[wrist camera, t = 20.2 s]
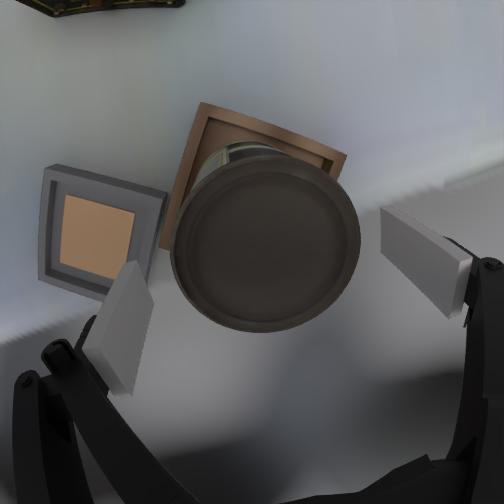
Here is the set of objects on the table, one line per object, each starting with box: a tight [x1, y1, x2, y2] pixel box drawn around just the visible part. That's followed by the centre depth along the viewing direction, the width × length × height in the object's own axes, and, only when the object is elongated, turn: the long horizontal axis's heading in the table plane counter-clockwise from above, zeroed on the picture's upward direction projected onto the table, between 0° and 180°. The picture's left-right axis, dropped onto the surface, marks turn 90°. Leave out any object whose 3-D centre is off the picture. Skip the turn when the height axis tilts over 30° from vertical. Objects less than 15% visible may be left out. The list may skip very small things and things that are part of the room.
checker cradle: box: [38, 164, 167, 302], centre depth 28 cm, size 13×13×2 cm
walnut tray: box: [159, 102, 347, 250], centre depth 28 cm, size 14×14×4 cm
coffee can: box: [170, 140, 361, 333], centre depth 22 cm, size 10×10×14 cm
